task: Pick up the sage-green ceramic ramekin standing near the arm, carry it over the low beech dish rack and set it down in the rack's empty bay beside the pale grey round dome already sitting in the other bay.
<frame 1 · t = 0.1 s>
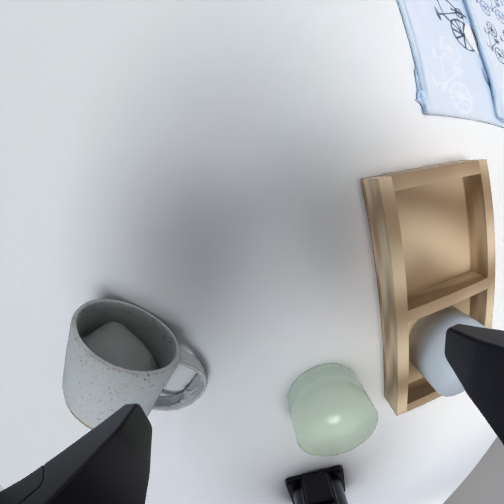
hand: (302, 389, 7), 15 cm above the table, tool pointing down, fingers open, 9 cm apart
sage ramekin: (323, 393, 24), on the table
dish rack: (432, 287, 23), on the table
pale grey round dome: (435, 336, 23), resting on dish rack
ceramic mug: (145, 350, 23), on the table
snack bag: (471, 41, 19), on the table
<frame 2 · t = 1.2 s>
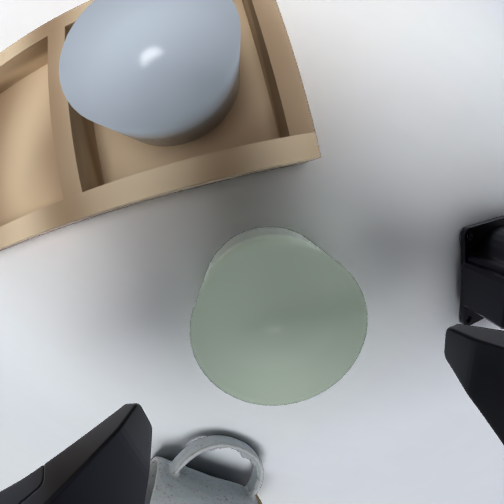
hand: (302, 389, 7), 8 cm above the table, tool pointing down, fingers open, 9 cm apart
sage ramekin: (268, 290, 15), on the table
dish rack: (87, 116, 13), on the table
pale grey round dome: (171, 82, 13), resting on dish rack
ceramic mug: (200, 469, 18), on the table
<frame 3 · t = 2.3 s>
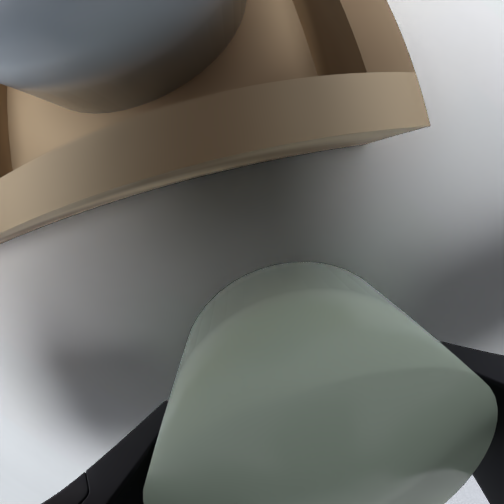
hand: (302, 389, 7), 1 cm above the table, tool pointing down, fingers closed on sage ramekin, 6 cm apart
sage ramekin: (295, 368, 8), on the table, touching gripper
dish rack: (5, 81, 6), on the table
pale grey round dome: (127, 8, 6), resting on dish rack
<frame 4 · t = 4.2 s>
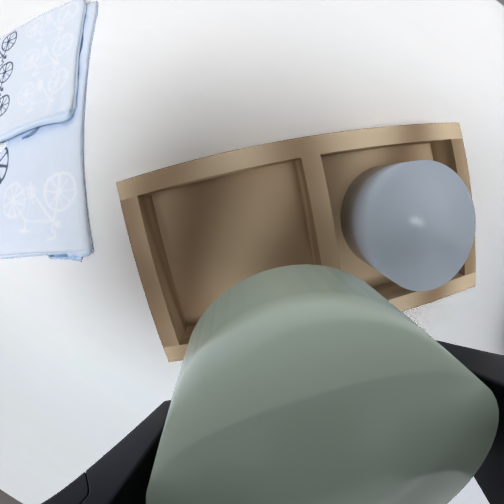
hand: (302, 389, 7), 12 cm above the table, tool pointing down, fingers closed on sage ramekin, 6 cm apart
sage ramekin: (296, 370, 8), point 11 cm above the table, touching gripper
dish rack: (314, 230, 18), on the table
pale grey round dome: (387, 216, 18), resting on dish rack
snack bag: (1, 143, 17), on the table
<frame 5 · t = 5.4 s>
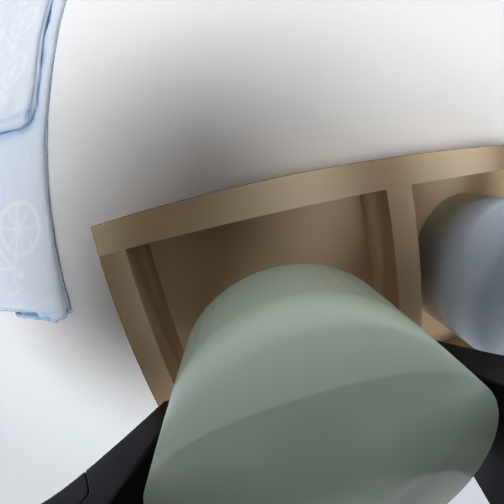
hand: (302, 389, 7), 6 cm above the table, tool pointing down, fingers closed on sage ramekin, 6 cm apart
sage ramekin: (296, 370, 8), point 5 cm above the table, touching gripper
dish rack: (378, 281, 13), on the table
pale grey round dome: (462, 259, 12), resting on dish rack
when the fingers open (3 cm above the table, at t = 6.6 s): sage ramekin stays where it is, resting on dish rack.
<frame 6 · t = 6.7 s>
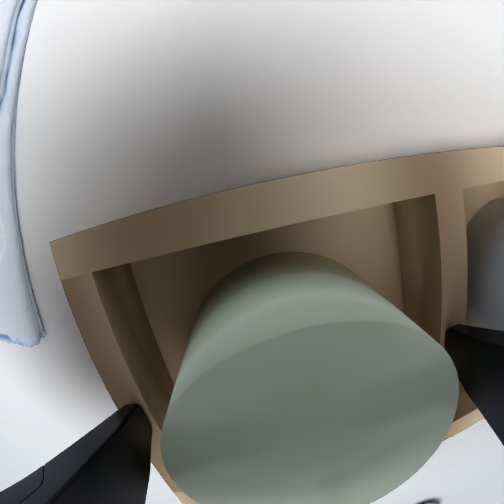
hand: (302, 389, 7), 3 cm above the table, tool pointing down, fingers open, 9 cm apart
sage ramekin: (289, 346, 10), resting on dish rack
dish rack: (408, 302, 10), on the table
pale grey round dome: (499, 273, 10), resting on dish rack
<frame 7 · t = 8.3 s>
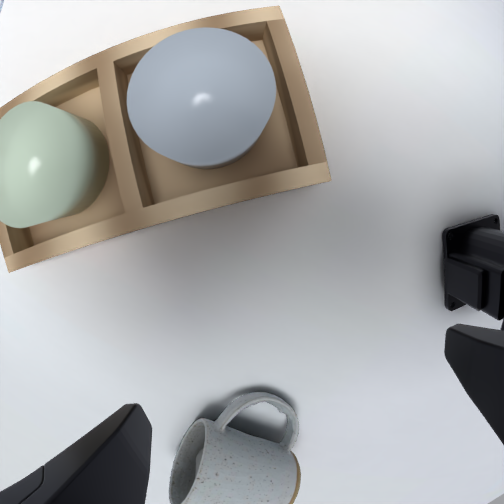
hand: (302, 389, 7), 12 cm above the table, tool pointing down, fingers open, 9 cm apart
sage ramekin: (65, 165, 16), point 1 cm above the table, touching dish rack
dish rack: (133, 140, 17), on the table
pale grey round dome: (208, 115, 16), resting on dish rack
ceramic mug: (237, 431, 22), on the table
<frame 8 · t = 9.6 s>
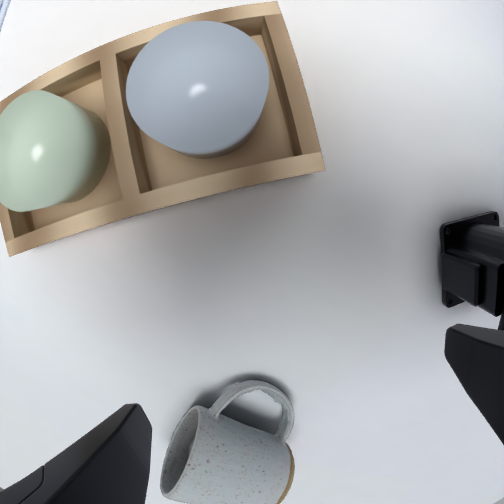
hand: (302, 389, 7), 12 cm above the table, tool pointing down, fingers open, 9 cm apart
sage ramekin: (68, 154, 17), point 1 cm above the table, touching dish rack
dish rack: (134, 130, 17), on the table
pale grey round dome: (206, 106, 17), resting on dish rack
ceramic mug: (232, 421, 22), on the table
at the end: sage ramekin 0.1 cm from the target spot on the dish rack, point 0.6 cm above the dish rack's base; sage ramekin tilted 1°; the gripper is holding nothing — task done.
